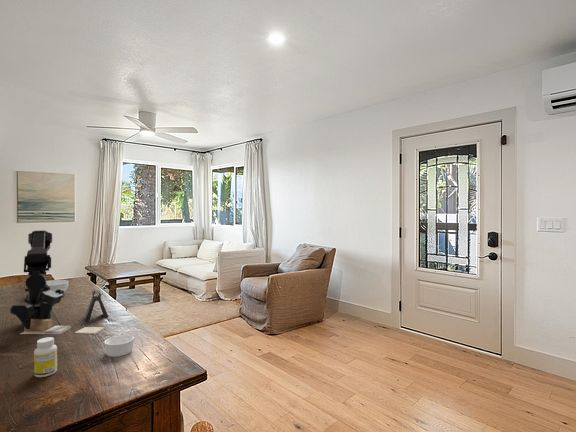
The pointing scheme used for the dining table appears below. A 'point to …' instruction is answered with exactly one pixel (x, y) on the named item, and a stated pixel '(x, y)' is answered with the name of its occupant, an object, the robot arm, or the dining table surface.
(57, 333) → the tool rest
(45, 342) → the supplement bottle
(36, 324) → the turner
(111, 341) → the ramekin
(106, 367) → the dining table surface
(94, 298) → the phone stand
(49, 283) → the cereal bowl
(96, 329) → the tile
